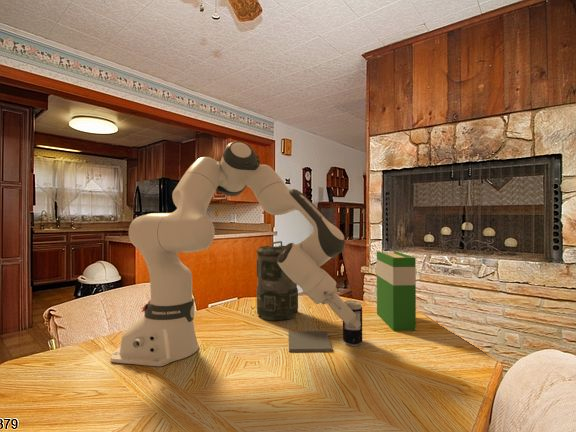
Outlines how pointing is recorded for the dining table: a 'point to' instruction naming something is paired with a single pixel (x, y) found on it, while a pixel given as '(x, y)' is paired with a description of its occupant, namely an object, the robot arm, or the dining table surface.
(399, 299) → the hardback book
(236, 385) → the dining table surface
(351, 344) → the beverage can
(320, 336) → the mat
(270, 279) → the canister
